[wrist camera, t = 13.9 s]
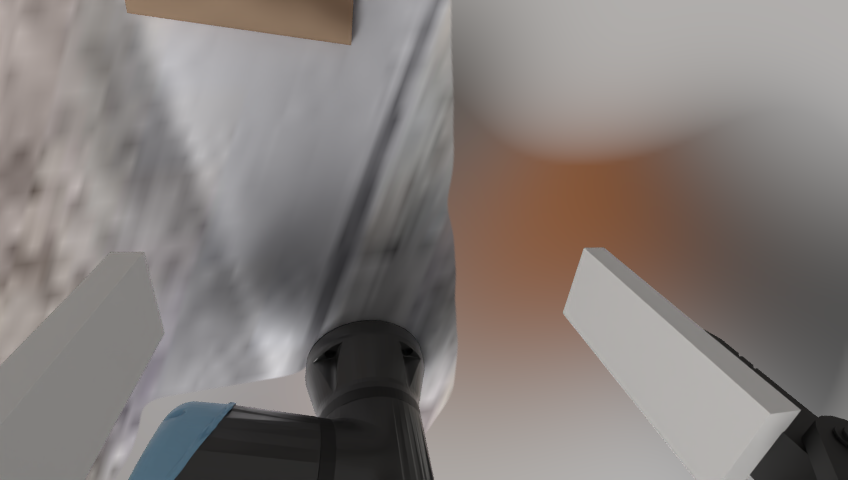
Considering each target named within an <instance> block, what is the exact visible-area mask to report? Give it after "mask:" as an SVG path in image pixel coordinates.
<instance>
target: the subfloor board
mask: <svg viewBox="0 0 848 480" xmlns="http://www.w3.org/2000/svg"><path fill="white" fill-rule="evenodd" d="M125 3H126V9H127V13H131V14H138V15H145V16H152V17H159V18H166V19H173V20H180V21H187V22H194V23H201V24H208V25H214V26H221V27H228V28H235V29H242V30H249V31H256V32H263V33H270V34H277V35H284V36H291V37H298V38H304V39H311V40H318V41H325V42H332V43H339V44H346V45H351V39H352V19H353V0H125Z"/></svg>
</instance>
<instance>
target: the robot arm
mask: <svg viewBox="0 0 848 480" xmlns="http://www.w3.org/2000/svg"><path fill="white" fill-rule="evenodd" d="M563 314H564V315H565V317H566V318H567V319H568V320H569V321H570V323H571V324H572V325H573V327H574V328H575V329H576V330H577V332H578V333H579V334H580V335H581V337H582V338H583V339H584V340H585V342H586V343H587V344H588V345H589V347H590V348H591V349H592V350H593V352H594V353H595V354H596V355H597V357H598V358H599V359H600V360H601V362H602V363H603V364H604V365H605V367H606V368H607V369H608V371H609V372H610V373H611V374H612V376H613V377H614V378H615V379H616V381H617V382H618V383H619V384H620V386H621V387H622V388H623V389H624V391H625V392H626V393H627V394H628V396H629V397H630V398H631V399H632V401H633V402H634V403H635V404H636V406H637V407H638V408H639V409H640V411H641V412H642V413H643V414H644V416H645V417H646V418H647V419H648V421H649V422H650V423H651V424H652V426H653V427H654V428H655V429H656V431H657V432H658V433H659V434H660V436H661V437H662V438H663V440H664V441H665V442H666V443H667V445H668V446H669V447H670V448H671V450H672V451H673V452H674V453H675V454H676V456H677V457H678V458H679V460H680V461H681V462H682V463H683V465H684V466H685V467H686V468H687V470H688V471H689V472H690V473H691V475H692V476H693V477H694V478H695V480H747V479H748V478H749V476H751V477H752V478H753V479H754V480H848V421H847V420H845V419H841V418H837V417H833V416H820V417H819V418H818V417H817V416H816V415H814V414H813V413H812V412H810V411H809V410H808V409H807V408H805V407H804V406H803V405H802V404H800V403H799V402H798V401H797V400H795V399H794V398H793V397H792V396H791V395H789V394H788V393H787V392H786V391H784V390H783V389H782V388H781V387H779V386H778V385H777V384H776V383H774V382H773V381H772V380H771V379H770V378H768V377H767V376H766V375H765V374H763V373H762V372H761V371H760V370H758V369H754V368H753V365H752V364H751V363H750V362H748V361H747V360H746V359H745V358H744V357H742V356H739V355H738V352H736V351H735V350H734V349H732V348H731V347H730V346H729V345H728V344H726V343H725V342H724V341H723V340H722V339H720V338H718V337H716V336H715V335H713V334H711V333H709V332H707V331H706V330H704V329H702V328H701V327H700V326H698V325H697V324H696V323H695V322H693V321H692V320H691V319H690V318H689V317H688V316H686V315H685V314H684V313H683V312H681V311H680V310H679V309H678V308H677V307H675V306H674V305H673V304H672V303H671V302H669V301H668V300H667V299H666V298H664V297H663V296H662V295H661V294H660V293H658V292H657V291H656V290H654V289H653V288H652V287H651V286H650V285H649V284H647V283H646V282H645V281H644V280H643V279H641V278H640V277H639V276H638V275H636V274H635V273H634V272H633V271H632V270H630V269H629V268H628V267H627V266H626V265H624V264H623V263H622V262H621V261H620V260H618V259H617V258H616V257H615V256H613V255H612V254H611V253H610V252H609V251H607V250H606V249H605V248H584V250H583V253H582V256H581V259H580V262H579V265H578V268H577V271H576V274H575V277H574V280H573V283H572V287H571V290H570V293H569V296H568V299H567V302H566V305H565V308H564V311H563ZM163 335H164V329H163V325H162V321H161V317H160V313H159V309H158V305H157V301H156V298H155V294H154V290H153V286H152V282H151V278H150V274H149V270H148V266H147V262H146V258H145V254H144V252H110V253H109V254H108V255H107V257H106V258H105V259H104V260H103V261H102V262H101V263H100V264H99V265H98V266H97V267H96V268H95V269H94V270H93V271H92V272H91V273H90V274H89V275H88V276H87V277H86V278H85V279H84V280H83V281H82V282H81V283H80V284H79V285H78V286H77V287H76V288H75V289H74V290H73V291H72V293H71V294H70V295H69V296H68V297H67V298H66V299H65V300H64V301H63V302H62V303H61V304H60V305H59V306H58V307H57V308H56V309H55V310H54V311H53V312H52V313H51V314H50V315H49V316H48V317H47V318H46V319H45V320H44V321H43V322H42V323H41V324H40V325H39V326H38V327H37V329H36V330H35V331H34V332H33V333H32V334H31V335H30V336H29V337H28V338H27V339H26V340H25V341H24V342H23V343H22V344H21V345H20V346H19V347H18V348H17V349H16V350H15V351H14V352H13V353H12V354H11V355H10V356H9V357H8V358H7V359H6V360H5V361H4V362H3V363H2V365H1V366H0V480H85V479H86V477H87V475H88V473H89V471H90V469H91V468H92V466H93V464H94V462H95V460H96V458H97V457H98V455H99V453H100V451H101V449H102V447H103V446H104V444H105V442H106V440H107V438H108V436H109V434H110V433H111V431H112V429H113V427H114V425H115V423H116V422H117V420H118V418H119V416H120V414H121V412H122V411H123V409H124V407H125V405H126V403H127V401H128V399H129V398H130V396H131V394H132V392H133V390H134V388H135V387H136V385H137V383H138V381H139V379H140V377H141V376H142V374H143V372H144V370H145V368H146V366H147V365H148V363H149V361H150V359H151V357H152V355H153V353H154V352H155V350H156V348H157V346H158V344H159V342H160V341H161V339H162V337H163ZM423 376H424V361H423V357H422V353H421V349H420V346H419V344H418V342H417V340H416V339H415V338H414V337H413V336H412V335H411V334H410V333H409V332H408V331H406V330H405V329H403V328H401V327H399V326H397V325H394V324H391V323H387V322H381V321H360V322H354V323H350V324H347V325H344V326H341V327H339V328H336V329H334V330H332V331H331V332H329V333H327V334H326V335H325V336H323V337H322V338H321V339H320V340H319V341H318V342H317V343H316V344H315V345H314V347H313V348H312V350H311V351H310V353H309V356H308V359H307V363H306V375H305V381H306V387H307V390H308V394H309V396H310V399H311V402H312V405H313V408H314V411H315V414H316V417H315V416H307V415H300V414H293V413H286V412H278V411H272V410H265V409H257V408H251V407H243V406H237V405H236V403H233V402H230V403H229V404H218V403H206V402H188V403H184V404H182V405H180V406H178V407H177V408H175V409H174V410H172V411H171V412H170V413H169V414H168V415H167V417H166V418H165V419H164V420H163V422H162V423H161V424H160V426H159V427H158V429H157V431H156V432H155V434H154V435H153V437H152V439H151V440H150V442H149V444H148V445H147V447H146V449H145V451H144V452H143V454H142V456H141V457H140V459H139V461H138V463H137V464H136V466H135V468H134V470H133V472H132V474H131V475H130V477H129V479H128V480H434V477H433V472H432V468H431V463H430V457H429V453H428V448H427V443H426V438H425V434H424V429H423V424H422V419H421V415H420V410H419V401H420V395H421V388H422V382H423Z"/></svg>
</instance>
